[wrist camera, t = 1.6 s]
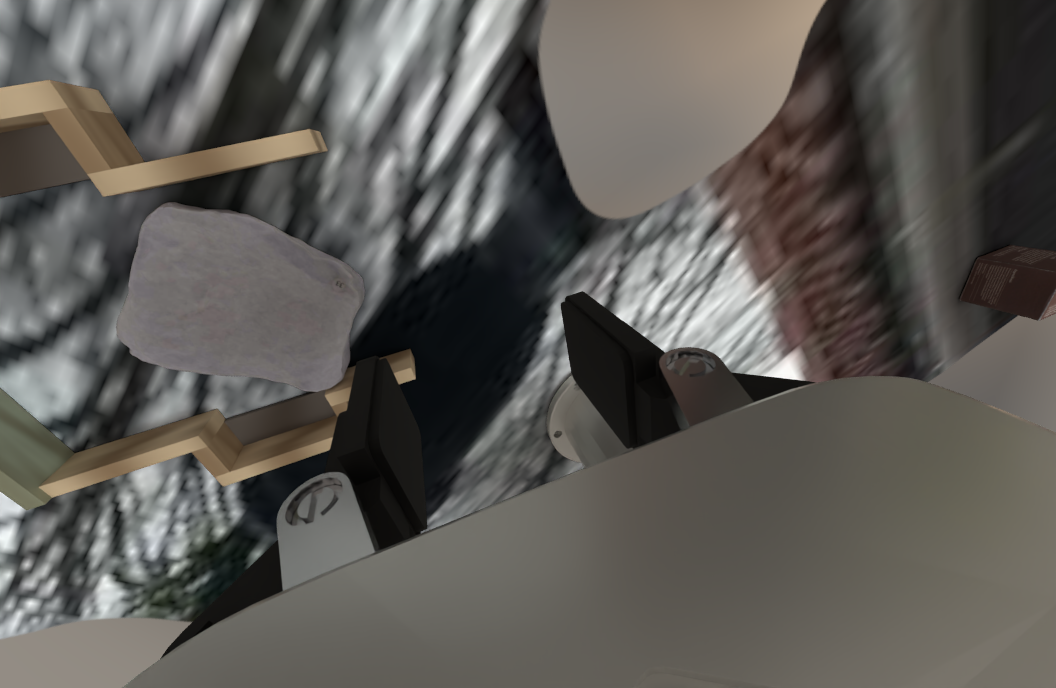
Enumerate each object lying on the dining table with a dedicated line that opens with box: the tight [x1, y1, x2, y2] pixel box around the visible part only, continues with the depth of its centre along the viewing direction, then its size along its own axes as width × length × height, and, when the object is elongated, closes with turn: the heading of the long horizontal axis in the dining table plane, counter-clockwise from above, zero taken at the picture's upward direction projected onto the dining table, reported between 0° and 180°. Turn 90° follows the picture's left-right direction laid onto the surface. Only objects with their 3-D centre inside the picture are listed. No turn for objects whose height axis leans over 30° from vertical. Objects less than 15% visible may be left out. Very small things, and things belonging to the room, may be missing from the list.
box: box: [960, 245, 1056, 321], centre depth 44 cm, size 6×6×7 cm
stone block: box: [116, 202, 365, 392], centre depth 23 cm, size 12×5×10 cm
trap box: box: [0, 80, 416, 510], centre depth 22 cm, size 24×23×4 cm
